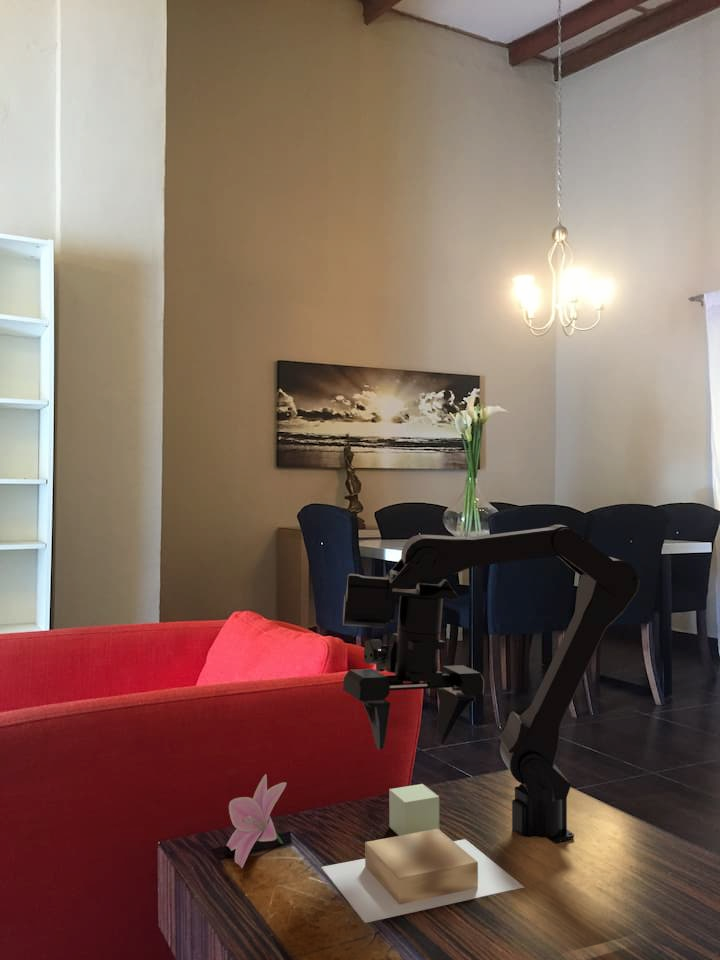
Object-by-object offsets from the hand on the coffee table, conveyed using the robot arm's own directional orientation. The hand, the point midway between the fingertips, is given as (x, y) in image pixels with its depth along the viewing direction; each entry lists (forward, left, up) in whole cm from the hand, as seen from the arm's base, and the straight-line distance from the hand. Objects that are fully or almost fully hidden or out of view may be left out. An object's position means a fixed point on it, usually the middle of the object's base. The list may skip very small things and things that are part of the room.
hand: (410, 746), depth 116 cm
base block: (+4, +12, -12) cm, 17 cm away
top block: (-1, 0, -12) cm, 12 cm away
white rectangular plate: (+4, +12, -12) cm, 18 cm away
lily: (+21, -3, -13) cm, 24 cm away
